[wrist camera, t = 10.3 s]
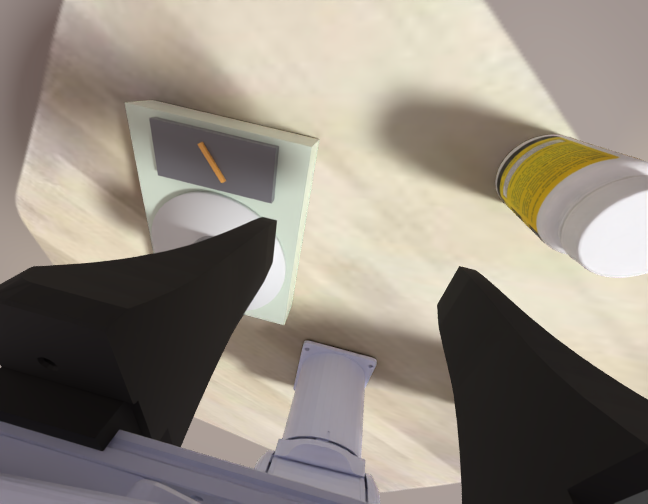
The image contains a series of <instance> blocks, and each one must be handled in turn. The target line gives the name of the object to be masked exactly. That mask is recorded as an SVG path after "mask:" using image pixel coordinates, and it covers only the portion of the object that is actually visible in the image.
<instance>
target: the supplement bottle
mask: <svg viewBox="0 0 648 504" xmlns="http://www.w3.org/2000/svg"><path fill="white" fill-rule="evenodd" d="M495 185H496V191H497V194H498V196H499V197H500V199H501V200H502V201H503V202H504V203H505V204H506V205H507V206H508V207H509V208H510V209H511V210H512V211H513V212H514V213H515V214H516V215H517V216H518V217H519V218H520V219H521V220H522V221H523V222H524V223H525V224H526V225H527V226H528V227H529V228H530V229H531V230H532V231H533V232H534V233H535V234H536V235H537V236H538V237H539V238H540V239H541V240H542V241H543V242H544V243H545V244H547V245H548V246H549V247H551V248H552V249H554V250H556V251H558V252H561V253H564V254H568V255H569V256H570V257H571V258H572V259H574V260H576V261H577V262H578V263H579V264H581V265H582V266H583V267H584V268H586V269H587V270H589V271H590V272H592V273H595V274H598V275H601V276H606V277H613V278H622V277H632V276H638V275H642V274H646V273H648V162H646V161H644V160H641V159H638V158H635V157H632V156H628V155H625V154H621V153H618V152H614V151H611V150H608V149H605V148H602V147H599V146H595V145H592V144H589V143H586V142H583V141H580V140H577V139H574V138H571V137H567V136H563V135H544V136H539V137H535V138H532V139H530V140H528V141H525V142H524V143H522V144H520V145H519V146H517V147H516V148H515V149H513V150H512V151H511V152H510V153H509V154H508V155H507V156H506V158H505V159H504V160H503V162H502V163H501V165H500V167H499V169H498V172H497V175H496V181H495Z"/></svg>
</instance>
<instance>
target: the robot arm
mask: <svg viewBox="0 0 648 504" xmlns="http://www.w3.org/2000/svg"><path fill="white" fill-rule="evenodd" d="M276 227H277V220H274V219H270V218H266V217H260V218H257V219H255V220H252V221H250V222H248V223H246V224H243V225H241V226H239V227H236V228H234V229H232V230H229V231H227V232H224V233H222V234H219V235H216V236H214V237H211V238H208V239H206V240H203V241H200V242H197V243H194V244H191V245H187V246H183V247H180V248H176V249H172V250H168V251H163V252H158V253H153V254H148V255H143V256H138V257H132V258H125V259H119V260H111V261H102V262H93V263H82V264H67V265H53V266H34V267H31V268H29V269H27V270H25V271H23V272H21V273H20V274H18V275H16V276H15V277H13V278H11V279H9V280H7V281H5V282H4V283H2V284H0V365H1V366H2V367H1V368H0V504H380V496H379V489H378V487H377V485H376V483H375V481H374V479H373V477H372V475H370V474H366V473H365V459H362V458H361V451H362V432H363V412H364V392H365V387H366V385H367V383H368V381H369V379H370V377H371V375H372V373H373V371H374V369H375V367H376V365H377V360H376V359H375V358H372V357H368V356H365V355H361V354H357V353H353V352H350V351H346V350H342V349H338V348H335V347H331V346H327V345H324V344H320V343H316V342H312V341H308V340H307V341H304V344H303V348H302V352H301V357H300V361H299V366H298V370H297V374H296V379H295V383H294V390H295V393H294V397H293V401H292V404H291V408H290V412H289V416H288V419H287V423H286V427H285V430H284V434H283V438H282V439H279V440H278V443H277V447H276V450H275V451H273V450H268V451H266V453H265V454H263V455H262V456H261V457H260V458H259V460H258V461H257V463H256V466H255V468H254V469H253V468H250V467H246V466H243V465H239V464H236V463H233V462H229V461H226V460H222V459H219V458H215V457H212V456H209V455H205V454H202V453H198V452H195V451H191V450H188V449H185V448H181V445H182V443H183V440H184V438H185V435H186V433H187V431H188V428H189V426H190V423H191V421H192V419H193V417H194V414H195V412H196V410H197V407H198V405H199V403H200V401H201V398H202V396H203V394H204V392H205V389H206V387H207V385H208V383H209V381H210V378H211V376H212V374H213V372H214V370H215V368H216V366H217V363H218V361H219V359H220V357H221V355H222V353H223V351H224V349H225V347H226V345H227V343H228V341H229V339H230V337H231V335H232V333H233V331H234V329H235V328H236V326H237V324H238V323H239V321H240V319H241V318H242V316H243V315H244V313H245V312H246V310H247V308H248V307H249V305H250V304H251V302H252V301H253V299H254V297H255V296H256V294H257V293H258V291H259V289H260V288H261V286H262V285H263V283H264V281H265V279H266V277H267V275H268V272H269V270H270V268H271V266H272V263H273V257H274V247H275V237H276ZM437 309H438V324H439V331H440V335H441V340H442V344H443V349H444V353H445V357H446V361H447V366H448V370H449V374H450V378H451V383H452V388H453V393H454V401H455V409H456V418H457V427H458V438H459V450H460V466H461V483H462V504H648V400H647V399H646V398H644V397H642V396H641V395H639V394H637V393H636V392H634V391H632V390H631V389H629V388H628V387H626V386H624V385H623V384H621V383H620V382H618V381H617V380H615V379H614V378H612V377H610V376H609V375H607V374H606V373H604V372H603V371H601V370H600V369H598V368H597V367H595V366H594V365H592V364H591V363H589V362H588V361H586V360H585V359H583V358H582V357H581V356H579V355H578V354H577V353H575V352H574V351H572V350H571V349H570V348H568V347H567V346H566V345H564V344H563V343H561V342H560V341H559V340H558V339H556V338H555V337H554V336H552V335H551V334H550V333H549V332H547V331H546V330H545V329H544V328H542V327H541V326H540V325H539V324H538V323H536V322H535V321H534V320H533V319H532V318H530V317H529V316H528V315H527V314H526V313H525V312H523V311H522V310H521V309H520V308H519V307H518V306H517V305H515V304H514V303H513V302H512V301H511V300H510V299H509V298H508V297H507V296H505V295H504V294H503V293H502V292H501V291H500V290H499V289H498V288H497V287H495V286H494V285H493V284H492V283H491V282H490V281H489V280H487V279H486V278H485V277H484V276H483V275H481V274H480V273H479V272H477V271H476V270H473V269H469V268H465V267H461V266H459V268H458V270H457V271H456V273H455V275H454V276H453V278H452V280H451V282H450V283H449V285H448V287H447V289H446V290H445V292H444V294H443V296H442V297H441V299H440V301H439V302H438V304H437Z"/></svg>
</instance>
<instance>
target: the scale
mask: <svg viewBox="0 0 648 504" xmlns="http://www.w3.org/2000/svg"><path fill="white" fill-rule="evenodd" d="M124 103H125V109H126V114H127V119H128V124H129V129H130V134H131V140H132V145H133V150H134V155H135V160H136V165H137V171H138V176H139V181H140V186H141V191H142V196H143V202H144V207H145V212H146V217H147V222H148V227H149V233H150V238H151V243H152V248H153V253H158V252H163V251H168V250H172V249H176V248H180V247H183V246H187V245H191V244H193V243H194V242H195V241H196V240H197V239H199V238H201V237H204V236H216V235H219V234H222V233H224V232H227V231H229V230H232V229H234V228H236V227H239V226H241V225H243V224H246V223H248V222H250V221H252V220H255V219H257V218H260V217H266V218H270V219H274V220H277V227H276V237H275V247H274V257H273V263H272V266H271V268H270V270H269V272H268V275H267V277H266V279H265V281H264V283H263V285H262V286H261V288H260V289H259V291H258V293H257V294H256V296H255V297H254V299H253V301H252V302H251V304H250V305H249V307H248V308H247V310H246V312H245V313H244V315H248V316H251V317H255V318H259V319H263V320H266V321H270V322H274V323H278V324H281V325H284V324H285V322H286V319H287V317H288V314H289V312H290V309H291V306H292V300H293V295H294V289H295V283H296V277H297V271H298V265H299V259H300V253H301V247H302V241H303V235H304V229H305V223H306V217H307V211H308V205H309V199H310V193H311V187H312V181H313V175H314V169H315V163H316V157H317V151H318V145H319V139H316V138H312V137H307V136H303V135H299V134H295V133H291V132H286V131H282V130H278V129H274V128H269V127H265V126H261V125H257V124H253V123H248V122H244V121H240V120H236V119H231V118H227V117H223V116H219V115H214V114H210V113H206V112H202V111H198V110H193V109H189V108H185V107H181V106H176V105H172V104H168V103H164V102H160V101H155V100H144V101H134V102H124Z"/></svg>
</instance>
